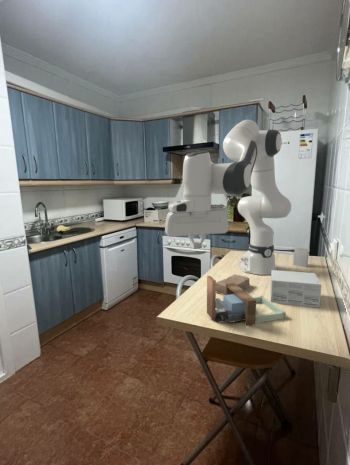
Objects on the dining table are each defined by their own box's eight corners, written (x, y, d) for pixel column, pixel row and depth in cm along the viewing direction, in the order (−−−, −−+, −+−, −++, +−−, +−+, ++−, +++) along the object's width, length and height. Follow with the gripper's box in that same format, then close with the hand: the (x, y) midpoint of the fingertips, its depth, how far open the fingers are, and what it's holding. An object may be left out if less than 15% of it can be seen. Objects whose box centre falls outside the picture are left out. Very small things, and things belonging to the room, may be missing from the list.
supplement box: (313, 294, 106) (315, 272, 104) (319, 308, 93) (322, 284, 92) (269, 289, 111) (271, 268, 109) (270, 302, 99) (271, 279, 97)
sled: (203, 308, 93) (204, 273, 91) (238, 304, 96) (239, 269, 94) (215, 324, 82) (216, 284, 80) (253, 318, 86) (255, 280, 83)
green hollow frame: (236, 303, 98) (236, 299, 97) (262, 300, 100) (262, 295, 100) (256, 322, 84) (256, 316, 84) (285, 318, 87) (285, 312, 86)
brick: (233, 282, 121) (234, 272, 120) (250, 286, 115) (250, 276, 114) (214, 293, 109) (214, 282, 108) (231, 298, 103) (231, 287, 102)
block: (223, 310, 93) (223, 295, 92) (243, 308, 95) (243, 292, 93) (231, 320, 86) (232, 303, 85) (253, 317, 88) (253, 301, 87)
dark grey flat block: (208, 312, 91) (208, 311, 91) (216, 311, 92) (216, 310, 92) (216, 322, 85) (216, 321, 85) (224, 321, 85) (224, 320, 85)
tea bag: (306, 267, 140) (307, 249, 138) (293, 265, 144) (294, 248, 142) (307, 265, 142) (309, 248, 141) (294, 263, 146) (295, 246, 145)
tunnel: (225, 303, 98) (225, 282, 96) (232, 302, 99) (233, 282, 97) (246, 326, 82) (247, 301, 81) (255, 324, 83) (256, 300, 81)
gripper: (223, 203, 85) (223, 244, 88) (163, 205, 81) (164, 248, 83) (232, 204, 79) (231, 248, 82) (167, 206, 75) (168, 252, 77)
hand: (197, 248), depth 82 cm, fingers closed
